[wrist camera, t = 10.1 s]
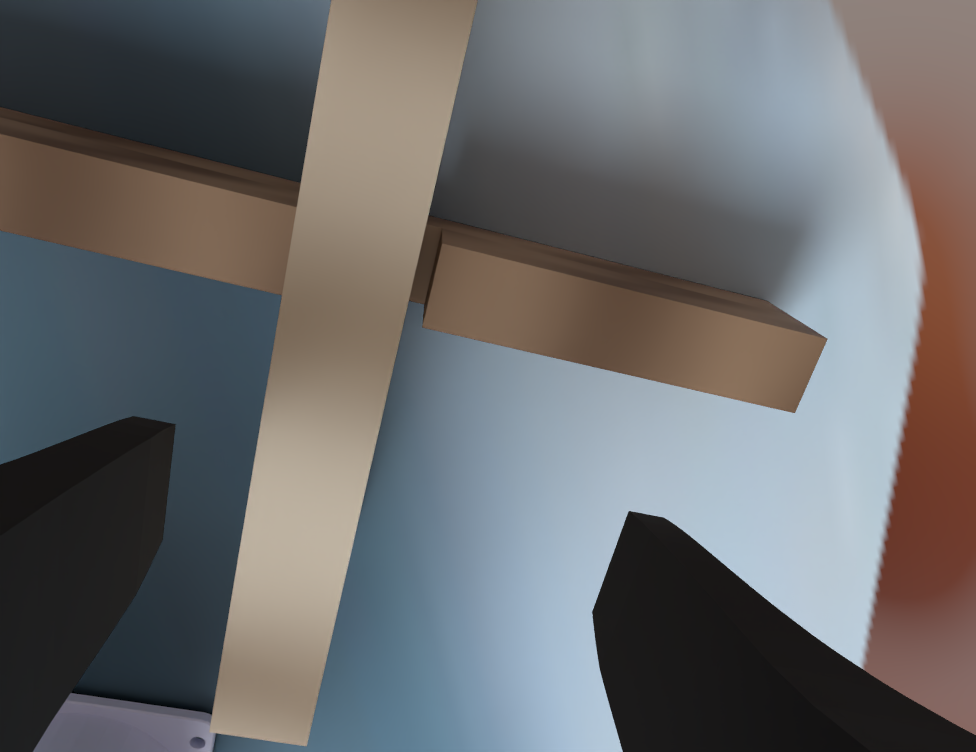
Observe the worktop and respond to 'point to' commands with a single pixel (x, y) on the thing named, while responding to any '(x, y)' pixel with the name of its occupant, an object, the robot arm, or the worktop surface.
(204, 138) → the worktop surface
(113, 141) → the walnut stand
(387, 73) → the cross piece
